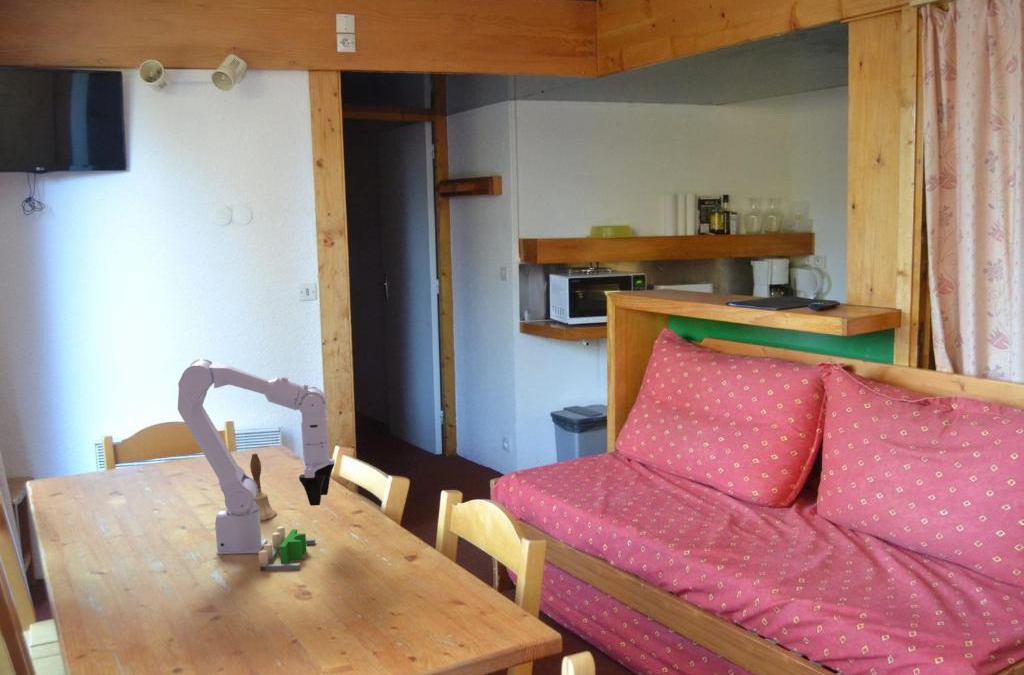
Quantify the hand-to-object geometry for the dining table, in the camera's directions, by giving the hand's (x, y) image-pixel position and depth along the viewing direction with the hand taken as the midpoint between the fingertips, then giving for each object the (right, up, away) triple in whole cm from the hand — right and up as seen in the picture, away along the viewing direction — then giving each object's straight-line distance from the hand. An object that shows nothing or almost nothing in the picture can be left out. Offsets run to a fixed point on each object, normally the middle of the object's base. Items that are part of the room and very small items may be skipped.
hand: (318, 499), depth 221 cm
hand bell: (-19, -8, +22) cm, 30 cm away
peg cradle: (-5, -11, -8) cm, 14 cm away
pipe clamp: (-4, -12, -8) cm, 14 cm away
